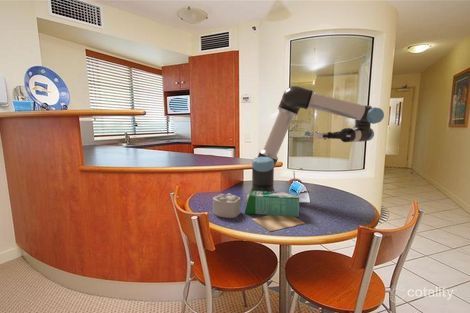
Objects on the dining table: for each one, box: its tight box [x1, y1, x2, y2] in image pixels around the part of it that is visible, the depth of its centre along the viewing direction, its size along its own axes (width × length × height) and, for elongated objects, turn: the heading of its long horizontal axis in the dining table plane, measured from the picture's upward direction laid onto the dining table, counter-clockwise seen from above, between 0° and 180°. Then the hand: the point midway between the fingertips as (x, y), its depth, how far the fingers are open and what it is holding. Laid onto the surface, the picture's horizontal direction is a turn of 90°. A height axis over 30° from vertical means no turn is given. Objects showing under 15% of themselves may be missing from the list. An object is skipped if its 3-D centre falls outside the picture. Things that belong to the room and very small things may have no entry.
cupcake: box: [288, 171, 303, 187], centre depth 156 cm, size 9×8×12 cm
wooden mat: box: [251, 215, 306, 233], centre depth 107 cm, size 18×14×1 cm
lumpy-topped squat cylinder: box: [212, 192, 242, 219], centre depth 117 cm, size 10×13×9 cm
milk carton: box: [244, 190, 300, 218], centre depth 117 cm, size 9×9×25 cm
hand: (316, 136), depth 121 cm, fingers closed
